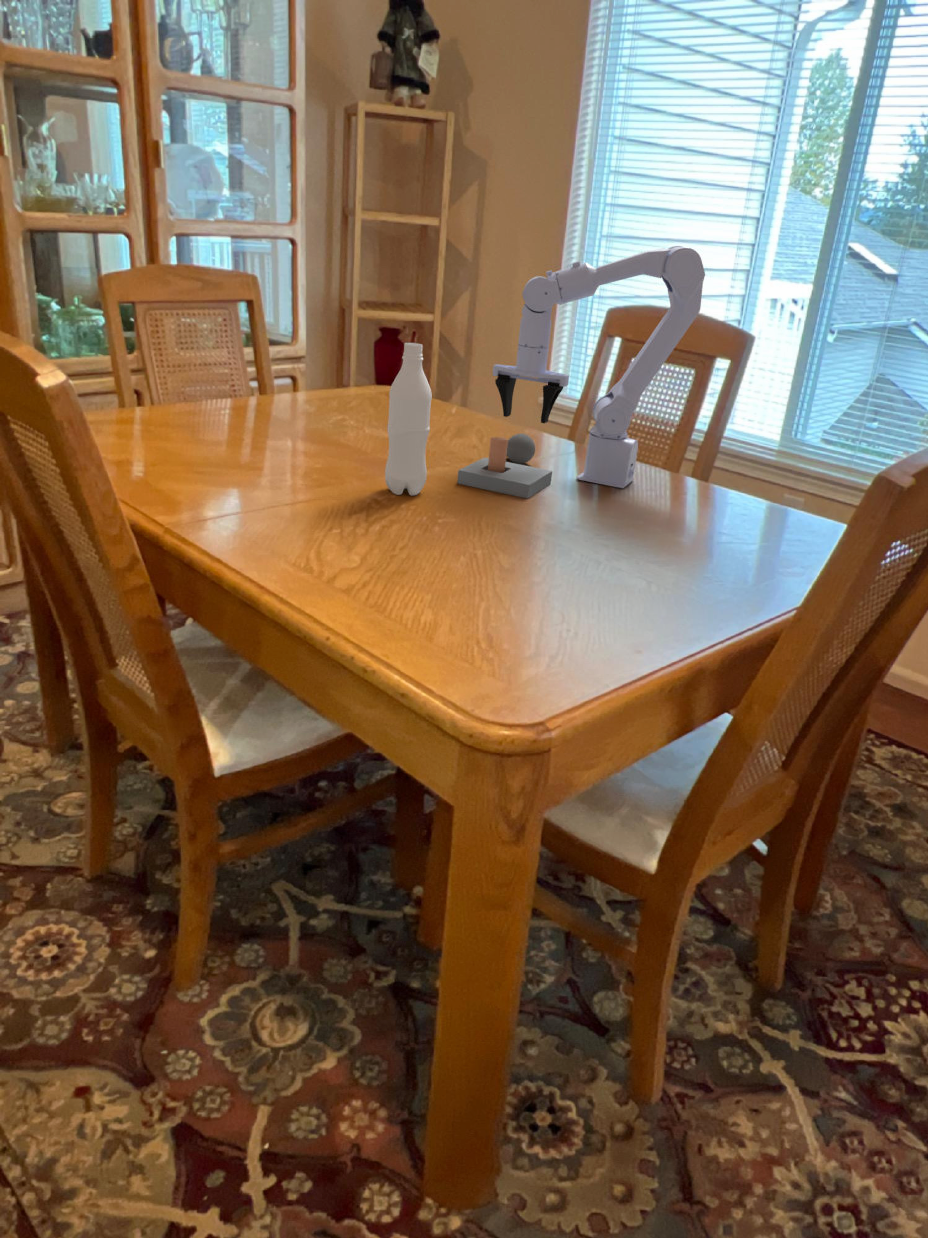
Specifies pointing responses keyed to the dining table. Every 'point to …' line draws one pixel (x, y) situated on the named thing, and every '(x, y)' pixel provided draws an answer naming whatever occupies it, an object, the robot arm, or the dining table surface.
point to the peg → (497, 454)
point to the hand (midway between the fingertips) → (525, 419)
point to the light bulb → (520, 448)
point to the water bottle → (408, 424)
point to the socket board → (505, 478)
